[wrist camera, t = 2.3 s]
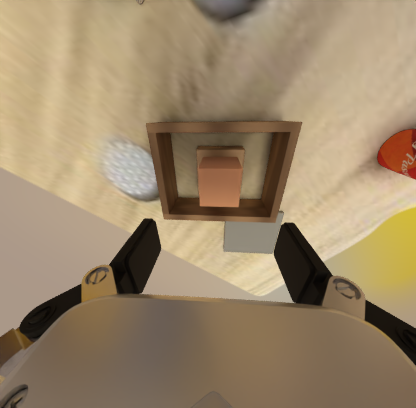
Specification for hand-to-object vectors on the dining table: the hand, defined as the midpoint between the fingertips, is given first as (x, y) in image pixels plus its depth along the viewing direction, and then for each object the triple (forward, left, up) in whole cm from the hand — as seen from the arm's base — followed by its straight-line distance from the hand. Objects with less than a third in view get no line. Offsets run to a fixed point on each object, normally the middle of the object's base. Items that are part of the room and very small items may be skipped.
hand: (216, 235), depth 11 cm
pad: (-7, +14, -17) cm, 23 cm away
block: (0, 0, -14) cm, 14 cm away
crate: (0, 0, -17) cm, 17 cm away
